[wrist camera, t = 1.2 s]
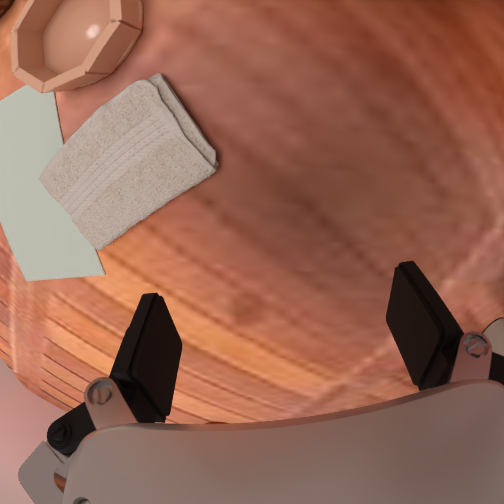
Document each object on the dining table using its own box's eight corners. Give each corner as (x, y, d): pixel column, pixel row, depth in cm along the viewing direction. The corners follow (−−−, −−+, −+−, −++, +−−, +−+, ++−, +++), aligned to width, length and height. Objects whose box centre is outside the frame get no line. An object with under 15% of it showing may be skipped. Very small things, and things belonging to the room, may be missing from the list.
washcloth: (227, 160, 27) (226, 168, 25) (105, 248, 32) (95, 262, 29) (159, 65, 22) (150, 62, 19) (46, 173, 27) (31, 182, 24)
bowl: (39, 8, 16) (10, 3, 11) (141, -38, 15) (121, -57, 11) (46, 103, 23) (15, 110, 18) (149, 65, 22) (128, 61, 17)
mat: (-26, 119, 21) (-27, 119, 21) (52, 71, 21) (51, 71, 21) (27, 280, 35) (26, 281, 35) (105, 273, 34) (104, 274, 34)
